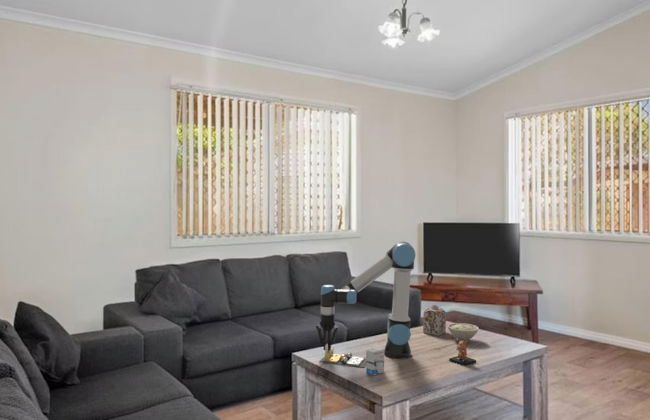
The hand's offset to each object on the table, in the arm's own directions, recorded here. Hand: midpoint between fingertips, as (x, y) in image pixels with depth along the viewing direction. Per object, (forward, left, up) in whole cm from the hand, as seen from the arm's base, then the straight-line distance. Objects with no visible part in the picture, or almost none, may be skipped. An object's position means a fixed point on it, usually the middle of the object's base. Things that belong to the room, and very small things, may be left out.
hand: (327, 356), depth 266 cm
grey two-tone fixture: (-10, 0, -1) cm, 10 cm away
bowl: (-68, -64, -2) cm, 93 cm away
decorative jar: (-49, -77, -2) cm, 91 cm away
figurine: (-70, -23, -2) cm, 74 cm away
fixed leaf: (-15, 0, -1) cm, 15 cm away
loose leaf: (-6, 0, -1) cm, 6 cm away
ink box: (-30, +11, -2) cm, 32 cm away
